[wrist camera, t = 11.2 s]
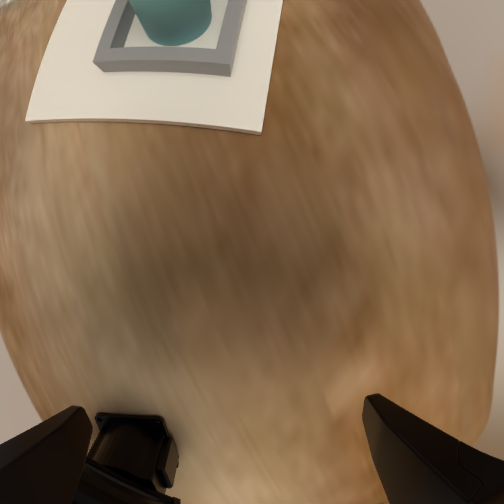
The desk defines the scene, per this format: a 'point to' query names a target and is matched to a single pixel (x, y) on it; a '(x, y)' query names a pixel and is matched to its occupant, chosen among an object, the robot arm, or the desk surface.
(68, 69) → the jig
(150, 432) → the robot arm
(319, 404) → the desk surface
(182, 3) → the teal cylinder white cap
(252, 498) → the desk surface
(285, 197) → the desk surface
